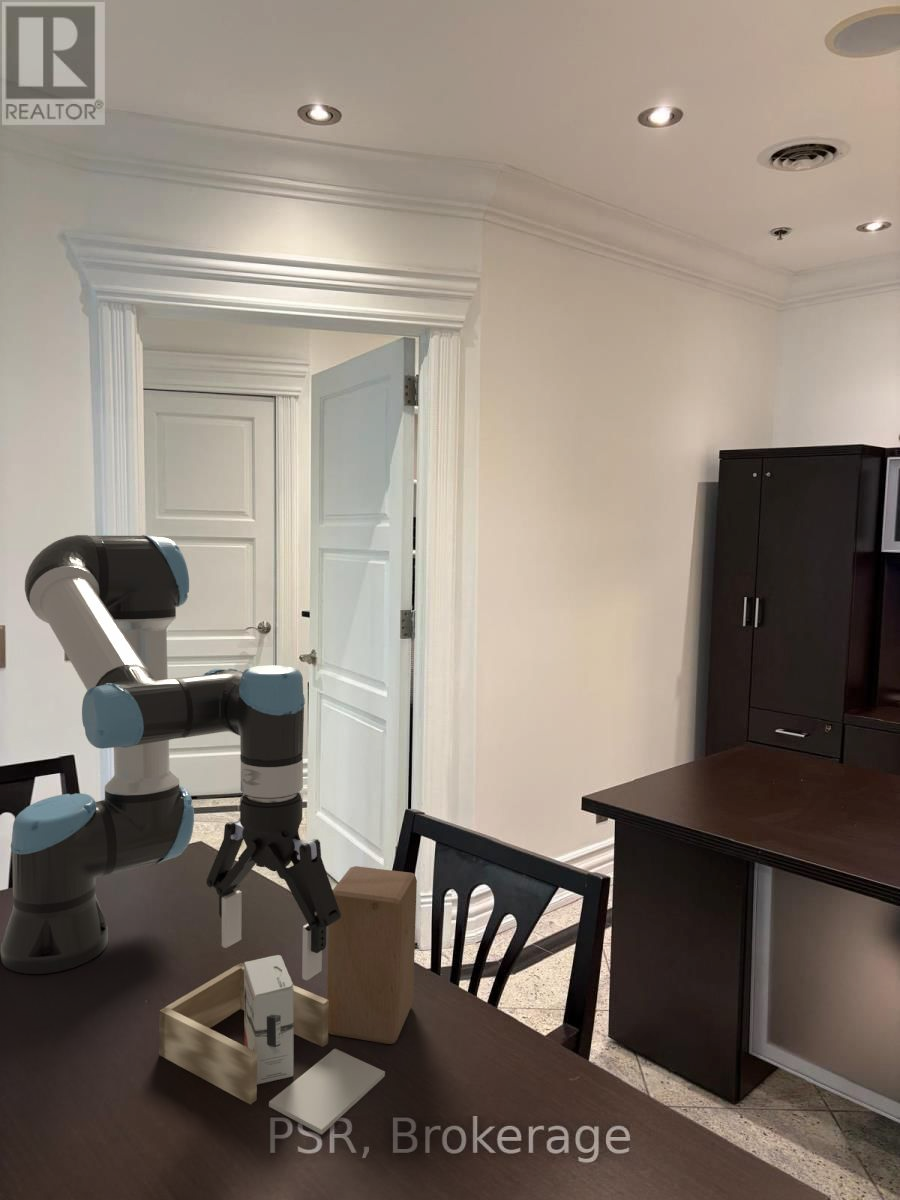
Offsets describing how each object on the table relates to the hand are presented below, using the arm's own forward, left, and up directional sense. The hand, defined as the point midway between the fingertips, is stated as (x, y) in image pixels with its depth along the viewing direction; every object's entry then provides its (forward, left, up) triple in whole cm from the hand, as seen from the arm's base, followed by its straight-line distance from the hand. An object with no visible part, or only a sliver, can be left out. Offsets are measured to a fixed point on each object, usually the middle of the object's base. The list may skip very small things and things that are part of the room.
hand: (270, 958), depth 105 cm
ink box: (0, 0, -14) cm, 14 cm away
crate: (-4, 0, -14) cm, 14 cm away
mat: (+10, 0, -14) cm, 17 cm away
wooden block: (+5, +14, -14) cm, 21 cm away
